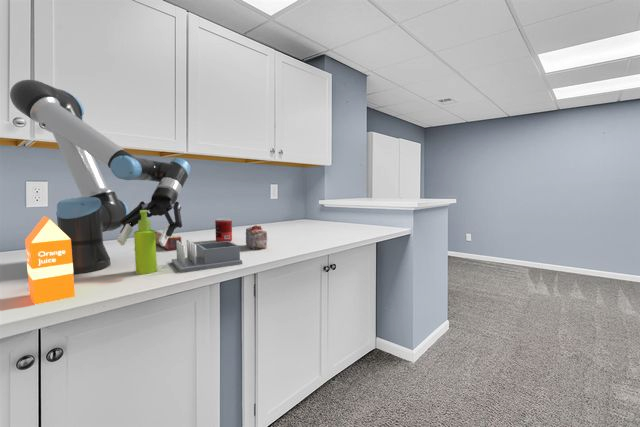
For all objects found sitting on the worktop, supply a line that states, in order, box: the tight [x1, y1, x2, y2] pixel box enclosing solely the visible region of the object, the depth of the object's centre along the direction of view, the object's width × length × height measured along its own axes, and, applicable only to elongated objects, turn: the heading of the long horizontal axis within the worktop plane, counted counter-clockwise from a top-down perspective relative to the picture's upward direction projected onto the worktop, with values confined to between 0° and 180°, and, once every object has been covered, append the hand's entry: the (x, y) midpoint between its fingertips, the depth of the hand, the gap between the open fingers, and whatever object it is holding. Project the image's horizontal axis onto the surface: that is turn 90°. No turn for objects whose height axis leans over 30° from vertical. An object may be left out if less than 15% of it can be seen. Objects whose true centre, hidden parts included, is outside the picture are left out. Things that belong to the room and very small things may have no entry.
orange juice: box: [24, 215, 76, 305], centre depth 79 cm, size 8×9×20 cm
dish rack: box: [171, 239, 243, 274], centre depth 113 cm, size 20×16×8 cm
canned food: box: [214, 217, 233, 242], centre depth 157 cm, size 8×8×11 cm
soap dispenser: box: [133, 210, 158, 275], centre depth 101 cm, size 6×7×20 cm
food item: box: [245, 224, 268, 250], centre depth 142 cm, size 14×8×10 cm, turn 29°
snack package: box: [155, 229, 183, 252], centre depth 143 cm, size 21×7×7 cm, turn 42°
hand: (140, 243), depth 98 cm, fingers open, 13 cm apart
